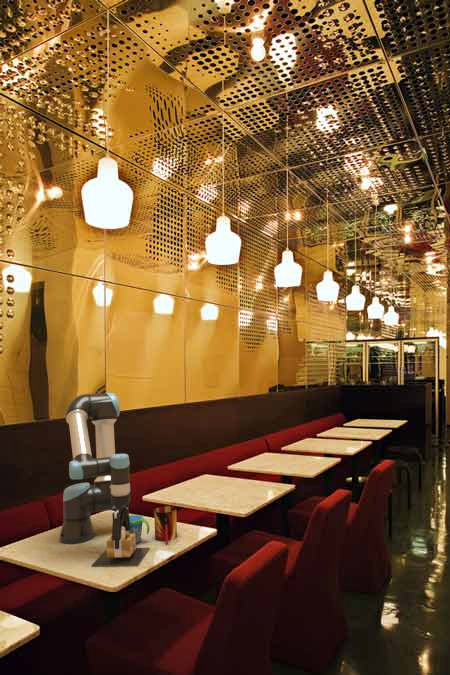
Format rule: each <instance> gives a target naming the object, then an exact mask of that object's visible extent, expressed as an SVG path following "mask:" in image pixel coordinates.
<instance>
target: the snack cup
mask: <svg viewBox="0 0 450 675" xmlns="http://www.w3.org/2000/svg"><path fill="white" fill-rule="evenodd" d="M129 519H130V527H129V528H131V530H128V531H129V533H136V545H137V544H139V543H140V542H141V540H142V532H143V531H142V529H143V523H145V525H146V535H149V533H150V524H149V522H148V520H147V519H145V518H144V516H142V515H139V514H131V515H130V514H129Z"/></svg>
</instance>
